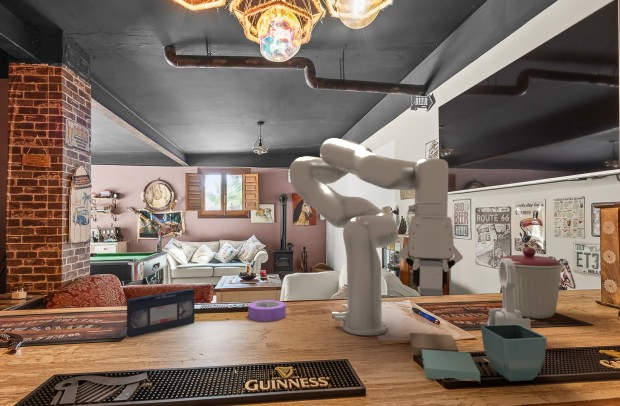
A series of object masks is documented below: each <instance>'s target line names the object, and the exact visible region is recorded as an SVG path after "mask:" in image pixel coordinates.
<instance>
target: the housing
mask: <svg viewBox="0 0 620 406" xmlns="http://www.w3.org/2000/svg"><path fill="white" fill-rule="evenodd" d="M418 267H419V287H416V288H417V291H418V294H419V296H426V297H441V298H442V297H444V295H443V294H444V293H443V292H444V291H443V288H442V270H443V261H442V260H440V259H420V262H419V265H418Z"/></svg>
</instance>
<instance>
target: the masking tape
mask: <svg viewBox="0 0 620 406" xmlns="http://www.w3.org/2000/svg"><path fill="white" fill-rule="evenodd" d="M286 306H287V305H286V302H283V301H281V300H275V299H264V300H263V299H262V300H256V301H255V300H254V301H252V302H250V303H248V305H247V307H248V313H247V314H248V316H247V317H248V318H249V320H252V321H255V322H256V321H257V322H273V321H279V320H282V319H284V318H285V317H286V312H287V311H286V310H287V308H286Z"/></svg>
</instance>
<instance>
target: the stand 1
mask: <svg viewBox="0 0 620 406" xmlns="http://www.w3.org/2000/svg"><path fill="white" fill-rule="evenodd" d="M409 341H410V342H409V343H410V348H411V355H412V356H413V357H415V356H414V355H422V349H425V350H439V351H453V352H460V350H459V348H458V346H457V344H456V343H457V342H455V339H454V338H453V335H451V334H438V333H437V334H436V333H425V332H424V333H423V332H409Z"/></svg>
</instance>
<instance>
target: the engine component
mask: <svg viewBox="0 0 620 406" xmlns="http://www.w3.org/2000/svg"><path fill="white" fill-rule="evenodd" d="M501 258H502V257H501ZM501 258H500V259H501ZM498 278H499V283H500V286H501V295H502V296H501V297H502V308H501V307H497V308H496V307H495V308H491V309H489V311H488V319H487V325H509V324H519V325H521V326H523V327H526V328H528V329H530V330H532V327H531V318H526V317H525V318H524V317H522V313H521V312H520V311H519V310H514V295H513V288H514V287H515V284H516V271H515V266H514V263H513V261H512V259H510V258H502V259H501V260H500V263H498Z"/></svg>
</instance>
